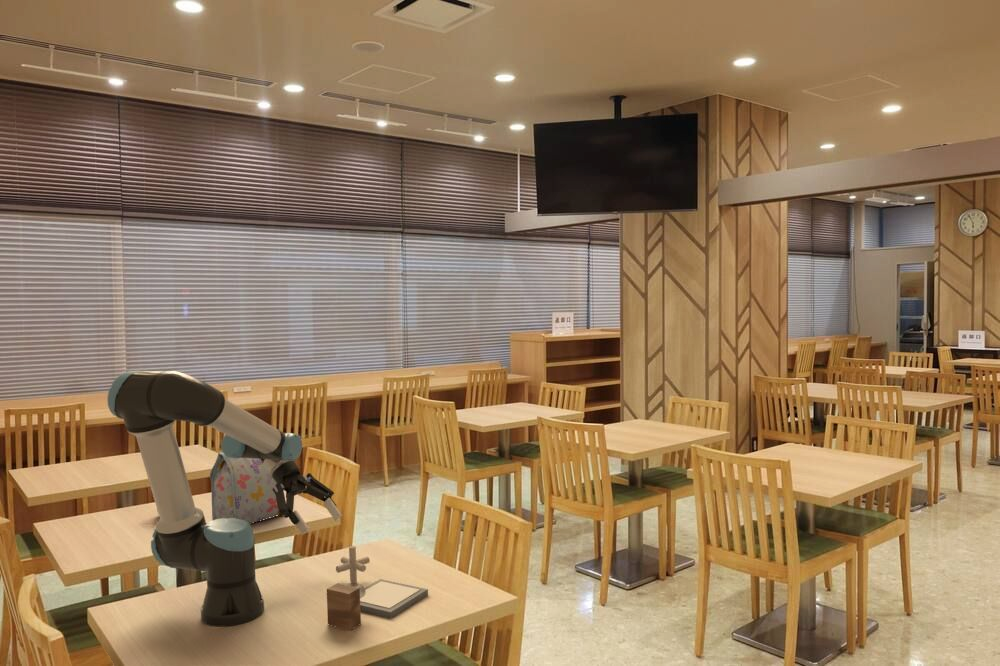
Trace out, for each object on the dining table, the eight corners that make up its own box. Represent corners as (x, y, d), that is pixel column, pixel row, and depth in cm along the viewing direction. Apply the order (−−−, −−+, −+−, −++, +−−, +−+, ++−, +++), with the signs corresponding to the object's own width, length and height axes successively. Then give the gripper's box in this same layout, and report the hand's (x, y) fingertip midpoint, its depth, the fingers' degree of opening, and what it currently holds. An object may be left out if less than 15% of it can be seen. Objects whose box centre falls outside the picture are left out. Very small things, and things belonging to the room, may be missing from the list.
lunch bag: (260, 508, 287) (257, 439, 286) (289, 515, 278) (286, 443, 276) (207, 524, 269) (203, 450, 268) (236, 531, 259) (232, 455, 258)
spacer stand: (364, 634, 179) (363, 597, 178) (314, 621, 187) (312, 585, 186) (428, 594, 201) (427, 561, 201) (380, 584, 209) (379, 552, 209)
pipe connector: (358, 572, 219) (357, 538, 218) (378, 581, 211) (377, 546, 211) (328, 582, 212) (327, 547, 211) (348, 592, 204) (346, 555, 204)
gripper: (306, 466, 235) (345, 520, 228) (243, 485, 213) (284, 545, 207) (318, 451, 232) (358, 505, 225) (255, 469, 210) (297, 529, 204)
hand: (322, 524), depth 216 cm, fingers open, 13 cm apart
